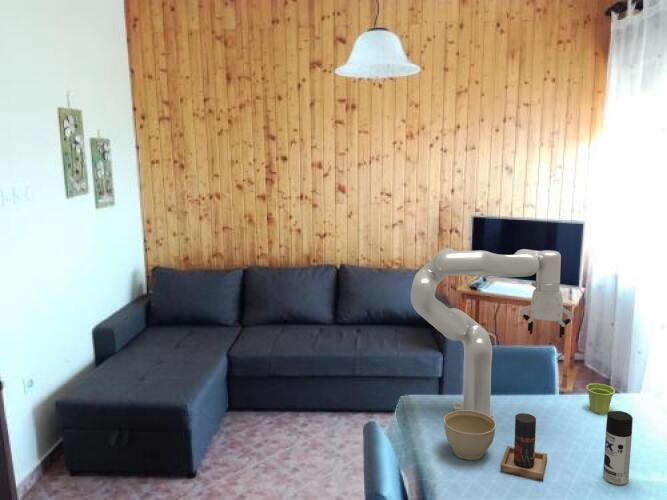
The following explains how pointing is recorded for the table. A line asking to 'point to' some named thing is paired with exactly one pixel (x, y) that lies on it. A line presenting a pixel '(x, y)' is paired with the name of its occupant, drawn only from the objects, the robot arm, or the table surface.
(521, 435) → the deodorant
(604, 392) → the plant pot
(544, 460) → the tray
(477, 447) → the planter bowl
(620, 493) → the table surface
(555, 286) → the robot arm
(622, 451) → the spray can
